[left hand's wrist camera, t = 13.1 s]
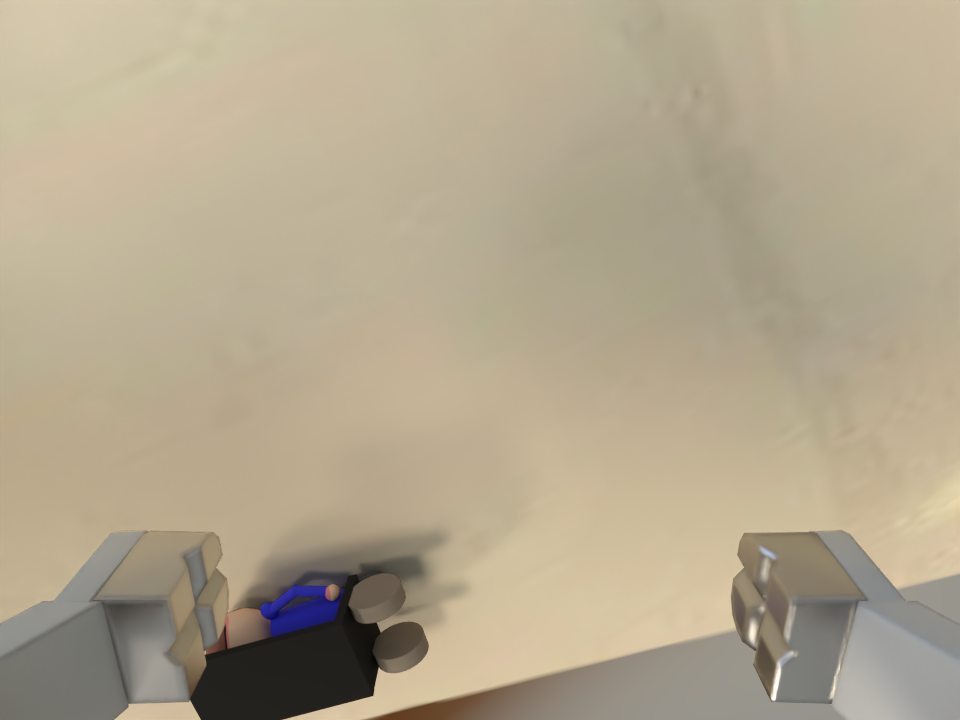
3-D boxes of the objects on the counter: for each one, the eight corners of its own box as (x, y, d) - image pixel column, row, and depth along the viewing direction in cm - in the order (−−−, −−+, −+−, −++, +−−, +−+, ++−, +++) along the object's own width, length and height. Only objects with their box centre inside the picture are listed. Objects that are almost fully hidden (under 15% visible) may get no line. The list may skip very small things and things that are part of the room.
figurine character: (397, 530, 49) (198, 596, 49) (397, 601, 41) (164, 679, 41) (428, 602, 51) (238, 665, 51) (432, 680, 44) (212, 753, 44)
